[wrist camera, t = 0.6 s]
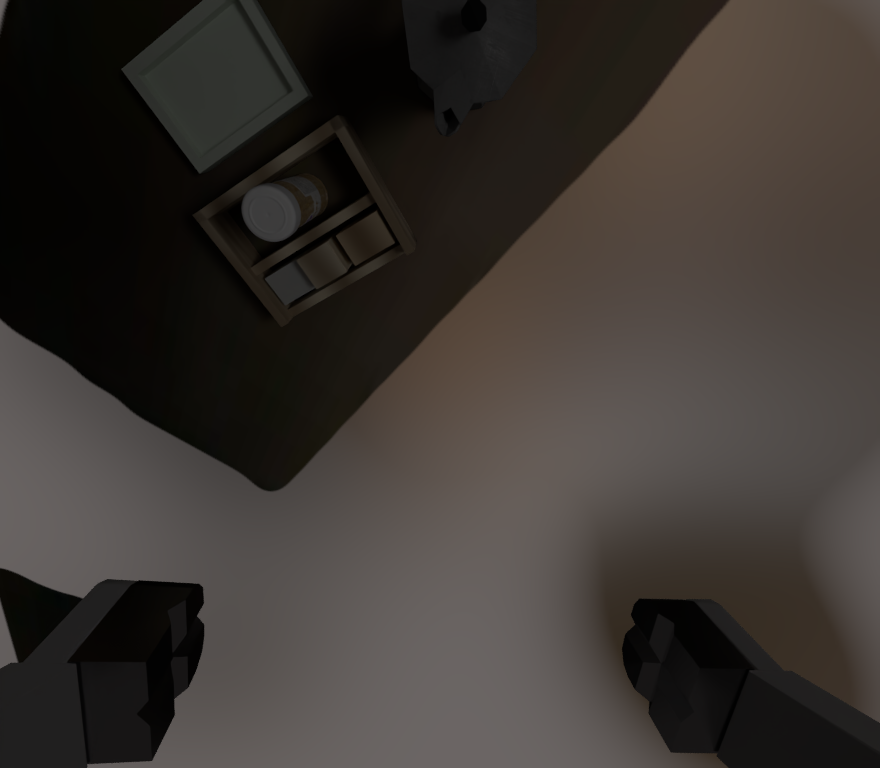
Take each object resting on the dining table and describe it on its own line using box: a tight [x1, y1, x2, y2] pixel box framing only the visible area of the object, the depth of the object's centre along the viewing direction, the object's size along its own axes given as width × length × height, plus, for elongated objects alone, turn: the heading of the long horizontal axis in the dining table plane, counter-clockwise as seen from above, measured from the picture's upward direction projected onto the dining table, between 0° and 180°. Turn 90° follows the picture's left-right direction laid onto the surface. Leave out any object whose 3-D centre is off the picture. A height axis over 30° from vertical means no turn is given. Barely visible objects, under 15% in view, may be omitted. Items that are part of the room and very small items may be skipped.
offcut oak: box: [336, 207, 396, 266], centre depth 47 cm, size 5×4×5 cm
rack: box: [193, 115, 417, 327], centre depth 47 cm, size 18×14×5 cm
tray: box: [121, 0, 313, 174], centre depth 42 cm, size 14×10×2 cm
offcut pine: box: [296, 232, 353, 289], centre depth 49 cm, size 4×4×6 cm
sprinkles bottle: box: [241, 173, 328, 242], centre depth 42 cm, size 5×5×14 cm
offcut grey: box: [265, 250, 315, 305], centre depth 50 cm, size 5×4×4 cm
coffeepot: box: [402, 0, 537, 136], centre depth 33 cm, size 15×9×18 cm, turn 165°
